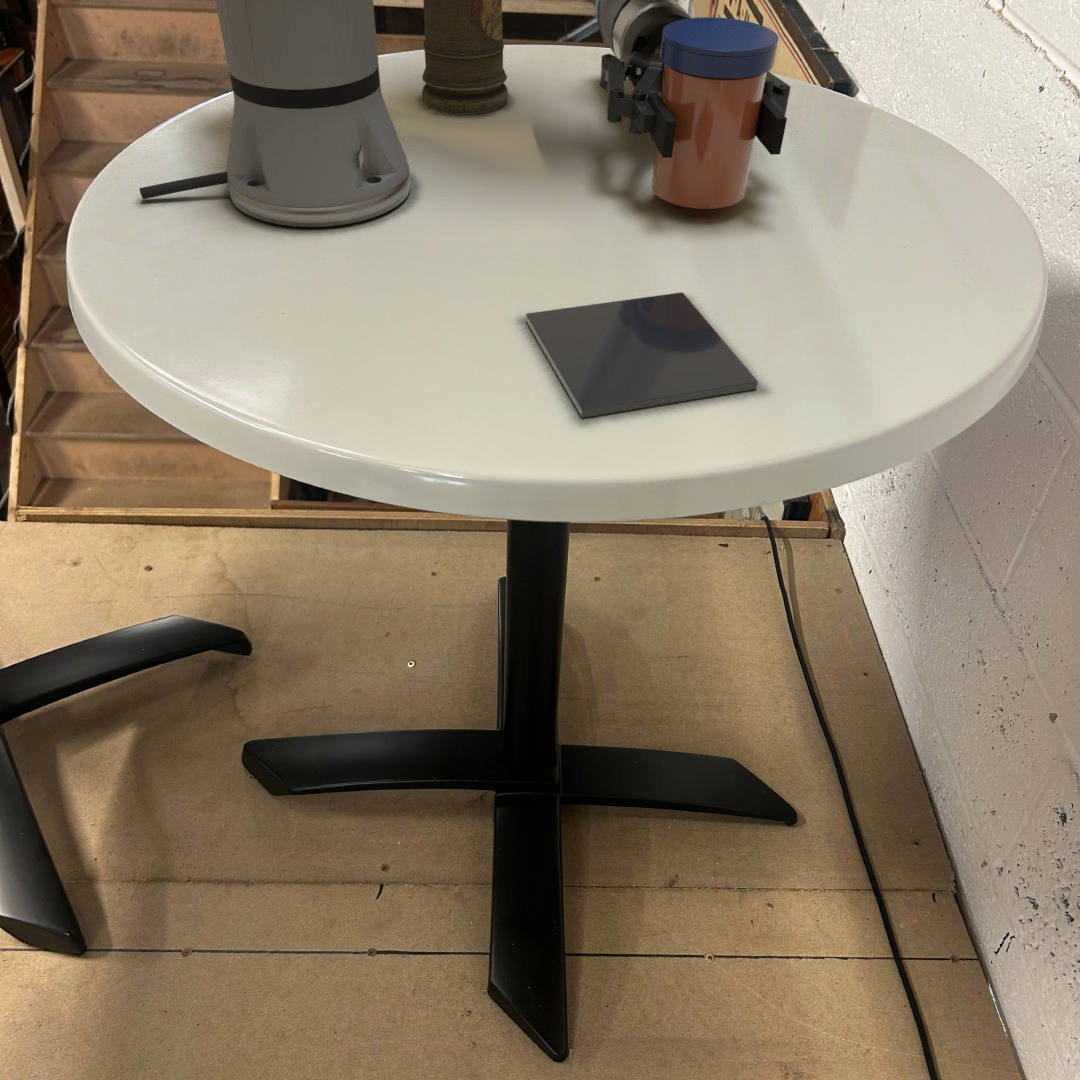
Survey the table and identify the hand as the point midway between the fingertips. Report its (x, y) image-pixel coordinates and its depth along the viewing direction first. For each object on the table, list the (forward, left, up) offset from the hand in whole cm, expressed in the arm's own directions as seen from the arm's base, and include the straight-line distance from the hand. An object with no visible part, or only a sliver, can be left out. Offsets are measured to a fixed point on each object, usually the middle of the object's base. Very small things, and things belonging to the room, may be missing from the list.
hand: (724, 138), depth 71 cm
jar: (0, +5, -6) cm, 8 cm away
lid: (0, +5, +6) cm, 7 cm away
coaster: (-10, -18, -7) cm, 22 cm away
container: (-18, +32, -7) cm, 37 cm away
